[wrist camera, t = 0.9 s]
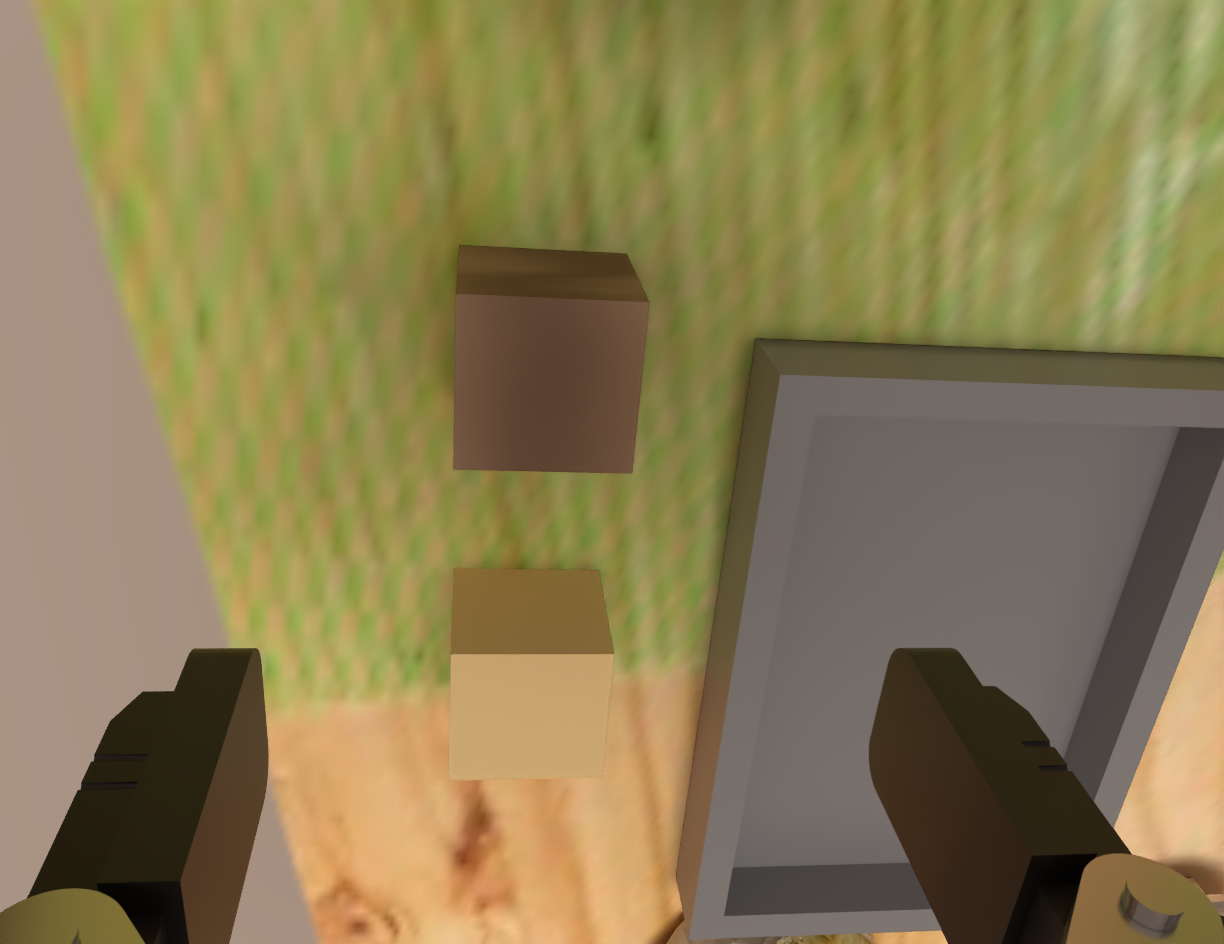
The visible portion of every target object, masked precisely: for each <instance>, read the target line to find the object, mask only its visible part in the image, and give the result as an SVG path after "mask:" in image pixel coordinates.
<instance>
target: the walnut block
mask: <svg viewBox="0 0 1224 944" xmlns="http://www.w3.org/2000/svg"><path fill="white" fill-rule="evenodd" d="M648 310H649V301H648V299H647V296H646V294H645V292H644V290H643V288H642V286H641V284H640V282H639V279H638V277H637V275H636V273H635V271H634V269H633V267H632V264H631V262H630V260H629V258H628V256H627V254H624V253H605V252H585V251H566V250H546V249H527V248H508V247H488V246H469V245H459V258H458V272H457V285H456V319H455V387H454V456H453V470H498V471H543V472H588V473H632V472H633V462H634V452H635V442H636V432H637V422H638V412H639V402H640V391H641V381H642V371H643V361H644V351H645V341H646V331H647V321H648Z"/></svg>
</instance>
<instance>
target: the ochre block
mask: <svg viewBox="0 0 1224 944" xmlns="http://www.w3.org/2000/svg"><path fill="white" fill-rule="evenodd" d="M613 663H614V649H613V644H612V639H611V633H610V628H609V622H608V617H607V612H606V606H605V601H604V595H603V590H602V585H601V579H600V574H599V570H561V569H475V568H454V591H453V614H452V637H451V669H450V735H449V780H503V779H563V778H602V773H603V763H604V753H605V743H606V733H607V723H608V713H609V703H610V693H611V683H612V673H613Z"/></svg>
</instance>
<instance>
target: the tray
mask: <svg viewBox="0 0 1224 944" xmlns="http://www.w3.org/2000/svg"><path fill="white" fill-rule="evenodd" d="M1223 549H1224V358H1219V357H1194V356H1170V355H1146V354H1121V353H1097V352H1073V351H1048V350H1024V349H1000V348H975V347H951V346H927V345H902V344H878V343H854V342H829V341H805V340H781V339H756V341H755V348H754V354H753V361H752V368H751V375H750V381H749V388H748V395H747V401H746V408H745V415H744V422H743V428H742V435H741V442H740V449H739V455H738V462H737V469H736V476H735V482H734V489H733V496H732V502H731V509H730V516H729V523H728V529H727V536H726V543H725V550H724V556H723V563H722V570H721V576H720V583H719V590H718V597H717V603H716V610H715V617H714V624H713V630H712V637H711V644H710V650H709V657H708V664H707V671H706V677H705V684H704V691H703V698H702V704H701V711H700V718H699V724H698V731H697V738H696V745H695V751H694V758H693V765H692V772H691V778H690V785H689V792H688V798H687V805H686V812H685V819H684V825H683V832H682V839H681V846H680V852H679V859H678V866H677V872H676V879H677V884H678V889H679V894H680V899H681V904H682V909H683V914H684V919H685V924H686V929H687V933H688V938H689V940H692V939H719V938H747V937H774V936H802V935H829V934H857V933H884V932H912V931H940V930H941V927H940V925H939V923H938V921H937V919H936V917H935V915H934V913H933V911H932V908H931V906H930V904H929V902H928V900H927V898H926V896H925V894H924V892H923V889H922V887H921V885H920V883H919V881H918V879H917V877H916V875H915V873H914V870H913V868H912V866H911V864H910V862H909V860H908V858H907V856H906V854H905V851H904V849H903V847H902V845H901V843H900V841H899V839H898V837H897V835H896V832H895V830H894V828H893V826H892V824H891V822H890V820H889V818H888V816H887V813H886V811H885V809H884V807H883V805H882V803H881V801H880V799H879V797H878V794H877V792H876V790H875V788H874V785H873V782H872V778H871V773H870V767H869V741H870V736H871V732H872V728H873V724H874V720H875V715H876V711H877V707H878V703H879V699H880V695H881V690H882V686H883V682H884V678H885V674H886V670H887V666H888V662H889V659H890V656H891V654H892V653H893V651H894V650H896V649H897V648H954V649H956V650H957V651H959V652H960V654H961V655H962V656H963V658H964V659H965V661H966V662H967V664H968V665H969V666H970V668H971V669H972V671H973V672H974V674H975V675H976V677H977V678H978V680H979V681H980V682H981V684H982V685H983V686H996V687H997V688H999V689H1000V690H1001V691H1003V692H1004V693H1005V694H1007V695H1008V696H1009V697H1011V698H1012V699H1013V700H1014V701H1016V702H1017V703H1018V704H1020V705H1021V706H1022V707H1024V708H1025V709H1026V710H1028V711H1029V712H1030V714H1031V715H1032V717H1033V718H1034V719H1035V721H1036V722H1037V723H1038V725H1039V726H1040V728H1041V729H1042V730H1043V732H1044V733H1045V735H1046V736H1047V737H1048V739H1049V740H1050V746H1051V747H1055V748H1056V750H1057V751H1058V753H1059V754H1060V755H1061V757H1062V758H1063V759H1064V761H1065V762H1066V764H1067V769H1068V771H1072V772H1073V773H1074V775H1075V776H1076V777H1077V779H1078V780H1079V782H1080V783H1081V784H1082V786H1083V787H1084V789H1085V790H1086V791H1087V793H1088V794H1089V795H1090V797H1091V798H1092V800H1093V801H1094V802H1095V804H1096V805H1097V807H1098V808H1099V809H1100V811H1101V812H1102V813H1103V815H1104V816H1105V818H1106V819H1107V820H1108V822H1109V823H1110V825H1111V826H1112V827H1113V828H1114V825H1115V823H1116V820H1117V818H1118V815H1119V813H1120V810H1121V808H1122V805H1123V803H1124V800H1125V798H1126V795H1127V793H1128V790H1129V787H1130V785H1131V782H1132V780H1133V777H1134V775H1135V772H1136V770H1137V767H1138V765H1139V762H1140V760H1141V757H1142V755H1143V752H1144V750H1145V747H1146V744H1147V742H1148V739H1149V737H1150V734H1151V732H1152V729H1153V727H1154V724H1155V722H1156V719H1157V717H1158V714H1159V712H1160V709H1161V706H1162V704H1163V701H1164V699H1165V696H1166V694H1167V691H1168V689H1169V686H1170V684H1171V681H1172V679H1173V676H1174V674H1175V671H1176V668H1177V666H1178V663H1179V661H1180V658H1181V656H1182V653H1183V651H1184V648H1185V646H1186V643H1187V641H1188V638H1189V636H1190V633H1191V630H1192V628H1193V625H1194V623H1195V620H1196V618H1197V615H1198V613H1199V610H1200V608H1201V605H1202V603H1203V600H1204V598H1205V595H1206V592H1207V590H1208V587H1209V585H1210V582H1211V580H1212V577H1213V575H1214V572H1215V570H1216V567H1217V565H1218V562H1219V560H1220V557H1221V554H1222V552H1223Z"/></svg>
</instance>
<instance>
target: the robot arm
mask: <svg viewBox="0 0 1224 944" xmlns="http://www.w3.org/2000/svg"><path fill="white" fill-rule="evenodd" d="M94 757H95V758H94V762H91V763H90V765H89V768H88V770H87V772H86V774H85V776H84V778H83V780H82V783H81V790H78V791H77V793H76V795H75V797H74V799H73V802H72V804H71V806H70V808H69V810H68V812H67V814H66V816H65V819H64V821H63V823H62V825H61V827H60V829H59V832H58V834H57V836H56V838H55V840H54V842H53V844H52V846H51V849H50V851H49V853H48V855H47V857H46V859H45V861H44V863H43V866H42V868H41V870H40V872H39V874H38V876H37V878H36V881H35V883H34V885H33V887H32V889H31V891H30V894H29V895H28V897H27V899H25V900H22V901H20V902H18V903H16V904H14V905H12V906H11V907H9V908H7V909H5V910H4V911H3V912H1V913H0V944H229V941H230V938H231V934H232V929H233V925H234V921H235V917H236V913H237V909H238V905H239V901H240V897H241V893H242V889H243V884H244V881H245V876H246V873H247V868H248V864H249V860H250V856H251V852H252V848H253V844H254V840H255V836H256V832H257V827H258V824H259V819H260V816H261V811H262V807H263V803H264V799H265V793H266V786H267V777H268V738H267V726H266V714H265V702H264V689H263V677H262V665H261V658H260V653H259V651H258V649H257V648H220V649H193V650H192V651H191V652H190V654H189V656H188V658H187V660H186V663H185V666H184V668H183V671H182V673H181V675H180V678H179V680H178V683H177V685H176V688H175V690H174V691H165V692H163V691H162V692H142V693H141V694H140V695H138V696H137V697H136V698H135V699H134V700H133V701H132V702H131V703H130V704H129V705H127V706H126V707H125V708H124V709H123V710H122V711H121V712H120V713H119V714H118V715H116V716H115V717H114V718H113V719H112V720H111V721H110V723H109V725H108V727H107V729H106V731H105V733H104V735H103V738H102V740H101V742H100V744H99V746H98V748H97V750H96V753H95V755H94ZM869 767H870V773H871V778H872V782H873V785H874V788H875V790H876V792H877V794H878V797H879V799H880V801H881V803H882V805H883V807H884V809H885V811H886V813H887V816H888V818H889V820H890V822H891V824H892V826H893V828H894V830H895V832H896V835H897V837H898V839H899V841H900V843H901V845H902V847H903V849H904V851H905V854H906V856H907V858H908V860H909V862H910V864H911V866H912V868H913V870H914V873H915V875H916V877H917V879H918V881H919V883H920V885H921V887H922V889H923V892H924V894H925V896H926V898H927V900H928V902H929V904H930V906H931V908H932V911H933V913H934V915H935V917H936V919H937V921H938V923H939V925H940V927H941V930H942V932H943V934H944V936H945V938H946V940H947V942H948V944H1224V916H1222V915H1219V913H1218V911H1217V909H1216V908H1215V906H1214V905H1213V904H1212V902H1211V901H1210V900H1209V898H1208V897H1207V896H1206V895H1205V894H1204V893H1203V892H1202V891H1201V890H1200V889H1199V888H1198V887H1197V886H1196V885H1194V884H1193V883H1192V882H1191V881H1189V880H1188V879H1187V878H1185V877H1184V876H1182V875H1181V874H1179V873H1178V872H1176V871H1174V870H1173V869H1171V868H1169V867H1167V866H1165V865H1163V864H1161V863H1158V862H1156V861H1153V860H1150V859H1147V858H1144V857H1140V856H1136V855H1132V854H1131V852H1130V851H1129V849H1128V848H1127V847H1126V845H1125V844H1124V843H1123V841H1122V840H1121V838H1120V837H1119V836H1118V834H1117V833H1116V831H1115V830H1114V829H1113V827H1112V826H1111V825H1110V823H1109V822H1108V820H1107V819H1106V818H1105V816H1104V815H1103V813H1102V812H1101V811H1100V809H1099V808H1098V807H1097V805H1096V804H1095V802H1094V801H1093V800H1092V798H1091V797H1090V795H1089V794H1088V793H1087V791H1086V790H1085V789H1084V787H1083V786H1082V784H1081V783H1080V782H1079V780H1078V779H1077V777H1076V776H1075V775H1074V773H1073V772H1072V771H1068V769H1067V764H1066V762H1065V761H1064V759H1063V758H1062V757H1061V755H1060V754H1059V753H1058V751H1057V750H1056V748H1055V747H1051V746H1050V740H1049V739H1048V737H1047V736H1046V735H1045V733H1044V732H1043V730H1042V729H1041V728H1040V726H1039V725H1038V723H1037V722H1036V721H1035V719H1034V718H1033V717H1032V715H1031V714H1030V712H1029V711H1028V710H1026V709H1025V708H1024V707H1022V706H1021V705H1020V704H1018V703H1017V702H1016V701H1014V700H1013V699H1012V698H1011V697H1009V696H1008V695H1007V694H1005V693H1004V692H1003V691H1001V690H1000V689H999V688H997V687H996V686H983V685H982V684H981V682H980V681H979V680H978V678H977V677H976V675H975V674H974V672H973V671H972V669H971V668H970V666H969V665H968V664H967V662H966V661H965V659H964V658H963V656H962V655H961V654H960V652H959V651H957V650H956V649H954V648H897V649H896V650H894V651H893V653H892V654H891V656H890V659H889V662H888V666H887V670H886V674H885V678H884V682H883V686H882V690H881V695H880V699H879V703H878V707H877V711H876V715H875V720H874V724H873V728H872V732H871V736H870V741H869Z"/></svg>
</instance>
